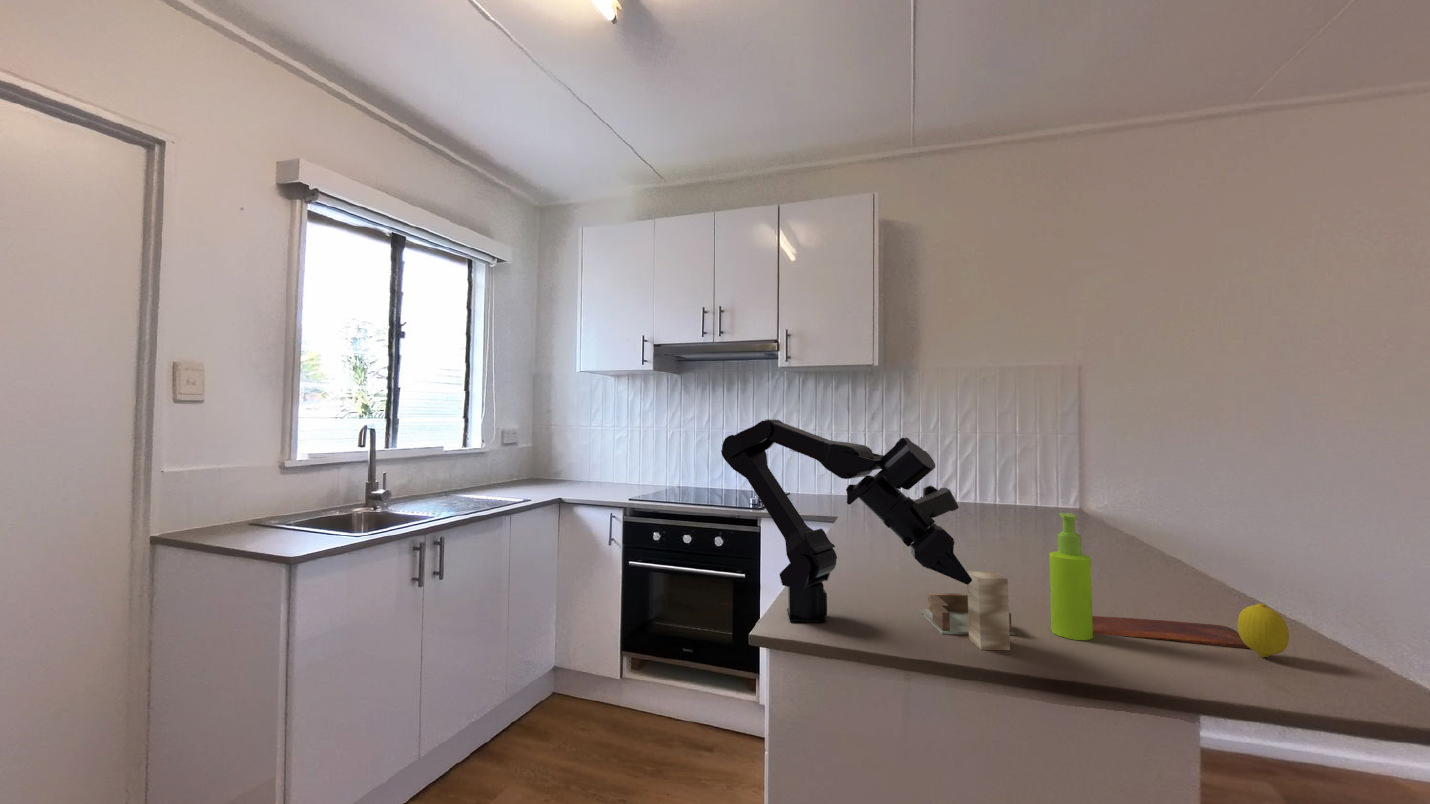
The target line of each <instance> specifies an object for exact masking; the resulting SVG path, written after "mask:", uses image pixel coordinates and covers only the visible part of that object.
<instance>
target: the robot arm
mask: <svg viewBox="0 0 1430 804" xmlns="http://www.w3.org/2000/svg"><path fill="white" fill-rule="evenodd" d="M774 444H777V445H779V446H781V447H783V448H788V449H789V450H791V451H794V452H797V453H799V454H802V455H804V456H805V457H806V456H807V457H809V458H811V459H814V460H815V461H818V462H819V463H820V464H821V466H823V467H824V468H825V470H827V471H829V472H831V473H832V474H834V475H835V476H836V477H838V478H840V479H844V480H849V479H856V478H861V477H862V479H861V480H860V481H858V482H857V483H856V484H848V486H847V487H846V490H845V491H846V504H847V505H852V504H853V503H854V502H855V501H856V500H857V499H859V500H860V501H862V503H863V504H864V505H865V506H867V508H868V509H869V510H871V511H872V512H873V514H875V515H876V517H878V518H879V519H880V520H881V521H882V523H883V524H884V525H885V526H886V527H887V528H888V529H890V530H891V531H892V532H893V533H894V534H895V535H896V536H897V537H898V538H899V539H901V541H902V543H903V544H904V545H905V546H907V547H910V549H911V550H910V551H911V552H910V554H911V555H912V557H913V558H914V559H915V560H916V562H918V563H919V564H920V566H921V567H923V568H926V569H929V570H932V571H935V572H936V573H938V574H941V575H944V576H947V577H949V578H951V579H953V580H955V581H957V582H961V583H963V584H965V585H967V586H968V584H969V583H970V582H972V579H971V577H970V576H969V574H968V573H967V570H966V569H965V567H964V566H963V564H962V563H961V562H960V561H959V559H958V557H957V556H956V554H955V553H954V551H955V550H954V545H955V538H953V537H952V536H951V535H950V533H948V532H947V531H946V530H945V529H944V528H943V527H942V526H940V525H938V524H936V520H935V519H933V518H936V517H939V516H941V515H943V514H946V513H948V512H954V511H956V510H958V509H959V507H960V506H959V505H958V502H957V500H956V498H955V496H954V495H953V493H952V491H951V489H950V488H948V487H941V488H939V489H937V487H935V486H934V485H928V486H926V487H923V488H922V496H920V497H919V498H918V499H916V500H913V498H911V497H909V496H907V495H905V494H904V493H903V492H902V491H901V490H900V489H904V490H908V491H909V490H911V489H912V488H913V487H914V486H915V485H917V484H918V483H919V482H920V481H922V479H923V478H925V477H926V476H927V475H929V474H930V473H932V472H933V470H934V469H936V463H935V460H934V459H933V458H932V456H931V455H930V454H929V453H928V452H927V451H926V450H924V449H923V448H921V447H920V446H919V445H917V444H916V443H914V442H912V441H911V440H910V438H909V437H900V439H899V440H898V441H896V443H895V444H894V446H892V447H891V449H890V450H888V451H887V452H886V453H885V454H884V455H882V454H878V453H873V450H872V449H871V448H870V447H869V446H867V445H864V444H861V443H860V444H859V443H853V442H847V441H840V440H839V441H837V440H830V439H827V438H824V437H822V436H819V435H817V434H815V433H811V432H809V431H805V430H803V429H800V428H798V427H795V426H792V425H789V424H787V423H784V422H783V421H781V420H780V419H772V418H771V419H763V420H761V421H760V422H757V423H756V424H755V425H753V426H750V427H748V428H746V429H744V430H742V431H739V432H738V433H736V434H731V435H728V436H727V437H725V438H724V440H723V442H722V445H721V446H722V447H721V449H720V450H721V451H720V452H721V456H722V458H723V459H724V461H725V462H726V463H727V464H728V466H730V467H731V468H732V470H733V471H735V472H737V473H738V474H739V475H741V476H742V477H744V478H745V479H746V480H747V482H748V483H749V484H750V486H751V488H752V490H753V491H754V492H755V494H756V496H757V497H758V499H759V501H760V503H762V505H763V507H764V508H765V510H766V511H767V513H768V514H769V516H770V518H771V519H772V521H773V522H774V524H775V525H776V527H777V529H778V530H779V532H780V534H781V536H782V537H783V538H784V542H785V552H786V553H785V554H786V557H787V559H788V561H789V563H788V564H787V565H786V567H785V568H783V569H782V570H781V571H780V573H779V579H780V581H781V585H782V586H784V587H787V603H788V604H787V608H786V611H787V612H788V613H787V616H789V617H788V621H789V620H790V621H803V622H802V623H805V622H804V621H809V622H808V623H826V622H827V619H826V617H827V616H828V594H827V590H825V588H824V586H825V585H824V583H823V582H826V581H829V579H830V575H831V572H833V571H834V570H835V568H836V565H837V559H838V557H837V552H836V551H835V549H834V548H836V545H835V544H833V542H831V540H829V538H828V536H827V533H826V532H825V530H823V528H818V529H815V530H814V529H812V528H811V527H810V526H808V525H807V524H806V522H805V520H804V519H803V518H802V516H801V514H800V513H799V512H798V510H797V508H796V507H795V506H794V504H793V503H792V501H791V500H790V498H789V497H788V495H787V494H786V491H785V490H784V489H783V487H782V486H781V485H780V483H779V482H778V480H777V478H776V477H775V476H774V474H773V472H772V471H771V469H770V468H769V466H768V454H767V452H766V451H767V450H769V449H770V448H771V447H772V446H773V445H774ZM876 470H879V471H878V472H876V474H874V475H873V476H872V475H870V474H871V473H872V471H876ZM790 621H789V622H790ZM810 621H811V622H810ZM816 621H817V622H816ZM825 621H826V622H825Z"/></svg>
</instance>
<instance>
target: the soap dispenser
mask: <svg viewBox="0 0 1430 804" xmlns="http://www.w3.org/2000/svg"><path fill="white" fill-rule="evenodd" d="M1058 515H1059V517H1061V519H1062V530H1061V531H1060V532H1058V533H1057V534H1056V535H1057V550H1056V551H1051V552H1049V554H1048V555H1049V556H1048V557H1049V586H1050V587H1049V589H1050V591H1049V592H1050V594H1049V595H1050V622H1051V623H1050V626H1051V632H1052V633H1053V634H1055V635H1057V636H1059V637H1062V638H1063V639H1064V638H1065V639H1069V640H1075V641H1090V640H1092V639H1093V638H1094V633H1093V622H1092V616H1093V598H1092V597H1093V595H1092V592H1093V591H1092V565H1091V563H1092V562H1091V561H1092V558H1091V556H1089V555H1086V554H1084V553H1082V536H1081V534H1078V532H1076V526H1075V525H1076V524H1075V522H1076V521H1077V515H1076V514H1075V513H1073V512H1059V513H1058Z"/></svg>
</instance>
